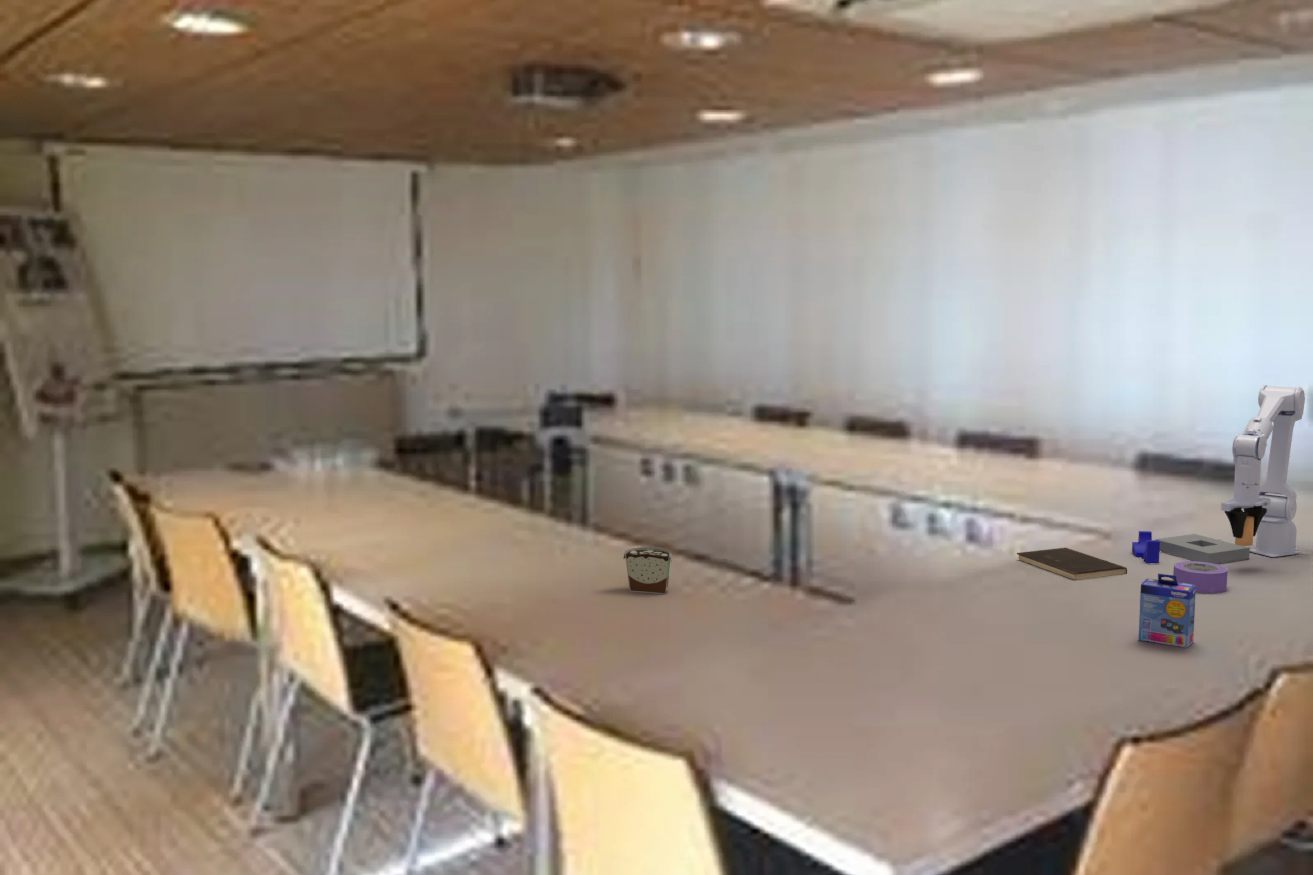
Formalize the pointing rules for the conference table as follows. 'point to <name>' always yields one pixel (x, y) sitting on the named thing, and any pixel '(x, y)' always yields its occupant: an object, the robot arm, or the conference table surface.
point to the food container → (648, 569)
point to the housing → (1203, 549)
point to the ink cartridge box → (1167, 611)
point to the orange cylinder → (1246, 533)
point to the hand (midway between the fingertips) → (1244, 536)
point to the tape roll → (1202, 576)
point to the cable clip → (1146, 547)
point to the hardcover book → (1071, 563)
